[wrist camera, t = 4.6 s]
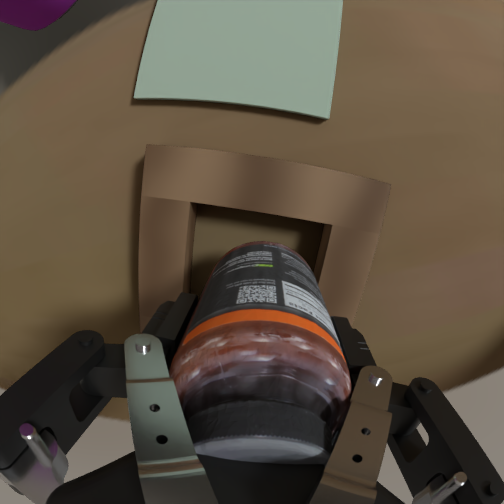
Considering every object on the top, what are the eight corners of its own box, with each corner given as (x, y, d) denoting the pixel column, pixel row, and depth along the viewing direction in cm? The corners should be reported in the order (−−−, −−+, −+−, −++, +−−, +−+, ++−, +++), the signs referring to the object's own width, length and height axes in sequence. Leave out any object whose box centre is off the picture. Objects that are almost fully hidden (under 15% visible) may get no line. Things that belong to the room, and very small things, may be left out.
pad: (342, -25, 12) (344, -29, 11) (326, 119, 16) (329, 118, 15) (175, -38, 12) (173, -42, 11) (137, 99, 16) (133, 97, 15)
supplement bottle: (247, 348, 18) (226, 521, 7) (188, 272, 16) (89, 437, 5) (334, 303, 16) (395, 480, 5) (281, 215, 15) (310, 367, 4)
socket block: (379, 180, 17) (391, 184, 15) (327, 361, 21) (331, 378, 19) (158, 145, 17) (146, 144, 15) (150, 334, 21) (141, 348, 19)
